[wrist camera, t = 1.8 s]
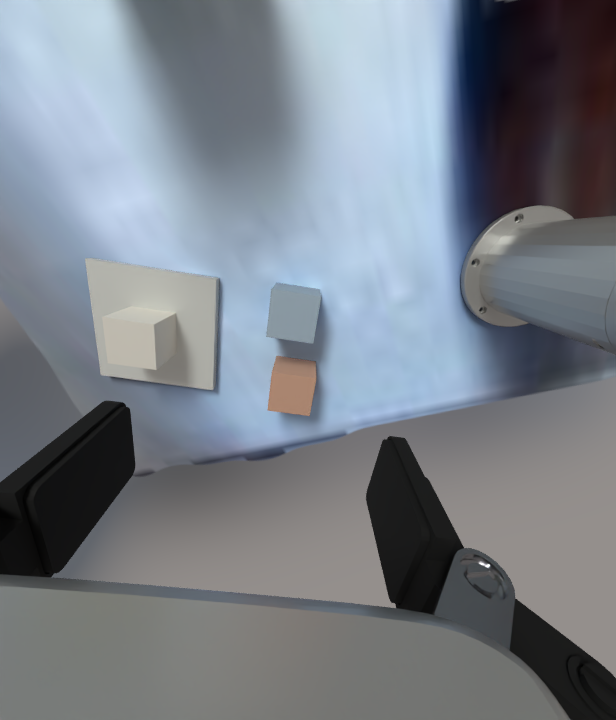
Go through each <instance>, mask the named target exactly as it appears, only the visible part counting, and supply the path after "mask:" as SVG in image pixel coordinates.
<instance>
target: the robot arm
mask: <svg viewBox="0 0 616 720" xmlns="http://www.w3.org/2000/svg"><path fill="white" fill-rule="evenodd" d="M472 261H473V264H471V263H472ZM461 290H462V296H463V298H464V301H465V303H466V305H467V306H468V308H469V309H470V311H471V312H472V313H473V314H474V315H476V316H477V317H478V318H479V319H481V320H483V321H485V322H487V323H490V324H493V325H496V326H502V327H516V326H520V325H525V324H528V323H530V324H533V325H536V326H539V327H541V328H544V329H547V330H549V331H552V332H555V333H558V334H560V335H563V336H566V337H568V338H571V339H574V340H576V341H579V342H582V343H585V344H587V345H590V346H593V347H595V348H598V349H601V350H604V351H606V352H609V353H612V354H614V355H616V216H607V217H595V218H583V219H574V218H573V217H572V216H571V215H569V214H568V213H566V212H565V211H563V210H561V209H558V208H555V207H552V206H531V207H525V208H521V209H517V210H514V211H512V212H510V213H507V214H505V215H503V216H502V217H500V218H499V219H497V220H496V221H494V222H492V223H491V224H490V225H489V226H488V227H487V228H486V229H485V230H484V231H483V232H482V233H481V234H480V235H479V236H478V238H477V239H476V240H475V241H474V243H473V245H472V246H471V248H470V250H469V251H468V253H467V256H466V259H465V261H464V264H463V268H462V273H461ZM479 309H480V310H479ZM134 470H135V456H134V446H133V435H132V425H131V414H130V409H129V408H128V407H126V405H125V404H124V403H123V402H115V401H104V402H102V403H101V404H99V405H98V406H97V407H96V408H94V409H93V410H92V411H91V412H89V413H88V414H87V415H85V416H84V417H83V418H82V419H80V420H79V421H78V422H77V423H75V424H74V425H73V426H71V427H70V428H69V429H68V430H66V431H65V432H64V433H63V434H61V435H60V436H59V437H57V438H56V439H55V440H54V441H52V442H51V443H50V444H48V445H47V446H46V447H45V448H43V449H42V450H41V451H40V452H38V453H37V454H36V455H34V456H33V457H32V458H31V459H29V460H28V461H27V462H26V463H25V464H23V465H22V466H20V468H18V469H17V470H15V471H14V472H13V473H12V474H10V475H9V476H8V477H6V478H5V479H4V480H3V481H1V482H0V720H616V678H615V677H614V676H613V675H612V674H611V673H610V672H609V671H608V670H607V669H606V668H605V667H604V666H602V665H601V664H600V663H599V662H598V661H596V660H595V659H594V658H593V657H591V656H590V655H588V654H587V653H586V652H585V651H583V650H582V649H581V648H579V647H578V646H577V645H575V644H574V643H573V642H572V641H570V640H569V639H568V638H566V637H565V636H564V635H563V634H561V633H560V632H559V631H557V630H556V629H555V628H553V627H552V626H551V625H549V624H548V623H547V622H546V621H544V620H543V619H542V618H540V617H539V616H538V615H536V614H535V613H534V612H532V611H531V610H530V609H528V608H527V607H526V606H525V605H523V604H522V603H521V602H519V601H518V600H517V599H515V590H514V587H513V585H512V582H511V580H510V578H509V577H508V575H507V574H506V572H505V571H504V570H503V569H502V568H501V567H500V566H499V565H498V563H497V562H495V561H494V560H493V559H491V558H490V557H489V556H487V555H486V554H484V553H482V552H480V551H478V550H475V549H471V548H464V547H463V545H462V543H461V541H460V539H459V537H458V535H457V533H456V532H455V530H454V528H453V526H452V524H451V522H450V520H449V518H448V516H447V514H446V512H445V510H444V508H443V507H442V505H441V502H440V501H439V499H438V497H437V495H436V493H435V491H434V489H433V487H432V485H431V483H430V481H429V480H428V479H427V478H426V477H425V476H424V474H423V472H422V470H421V468H420V466H419V464H418V462H417V461H416V458H415V456H414V454H413V452H412V451H411V448H410V446H409V445H408V443H407V441H406V439H405V438H401V437H393V436H390V437H388V439H387V440H383V441H382V444H381V448H380V451H379V454H378V457H377V461H376V464H375V467H374V470H373V473H372V476H371V480H370V483H369V486H368V489H367V494H366V501H367V506H368V510H369V514H370V518H371V523H372V527H373V531H374V535H375V540H376V544H377V548H378V553H379V557H380V561H381V566H382V570H383V574H384V578H385V582H386V587H387V591H388V595H389V599H390V601H391V602H392V603H395V604H396V608H388V607H379V606H370V605H361V604H353V603H343V602H332V601H322V600H311V599H300V598H290V597H289V598H288V597H279V596H268V595H257V594H245V593H234V592H223V591H211V590H199V589H187V588H175V587H165V586H153V585H140V584H128V583H115V582H103V581H91V580H79V579H66V578H65V579H64V578H51V577H52V575H53V574H54V573H58V572H60V571H61V570H62V569H63V568H64V566H65V565H66V564H67V562H68V561H69V560H70V558H71V557H72V556H73V554H74V553H75V552H76V550H77V549H78V548H79V546H80V545H81V544H82V542H83V541H84V539H85V538H86V537H87V536H88V534H89V533H90V532H91V530H92V529H93V528H94V526H95V525H96V523H97V522H98V521H99V519H100V518H101V517H102V515H103V514H104V513H105V511H106V510H107V509H108V507H109V506H110V505H111V503H112V502H113V501H114V499H115V498H116V497H117V495H118V494H119V493H120V491H121V490H122V489H123V487H124V486H125V484H126V483H127V482H128V481H129V479H130V478H131V477H132V475H133V473H134Z"/></svg>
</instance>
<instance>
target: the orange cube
mask: <svg viewBox="0 0 616 720" xmlns="http://www.w3.org/2000/svg"><path fill="white" fill-rule="evenodd" d="M315 384H316V361H309V360H302V359H295V358H288V357H281V356H276V360H275V363H274V367H273V370H272V376H271V385H270V394H269V402H268V411H276V412H284V413H291V414H299V415H306V416H310V411H311V406H312V400H313V395H314V389H315Z"/></svg>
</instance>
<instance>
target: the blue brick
mask: <svg viewBox="0 0 616 720" xmlns="http://www.w3.org/2000/svg"><path fill="white" fill-rule="evenodd" d="M320 301H321V293H320V289H315V288H308V287H302V286H296V285H289V284H283V283H276V284H275V285H274V286H273V288H272V289H271V298H270V307H269V317H268V327H267V336H266V337H271V338H278V339H285V340H292V341H298V342H305V343H312V344H313V342H314V337H315V331H316V325H317V319H318V313H319V307H320Z"/></svg>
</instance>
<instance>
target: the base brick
mask: <svg viewBox="0 0 616 720" xmlns="http://www.w3.org/2000/svg"><path fill="white" fill-rule="evenodd" d="M102 321H103V329H104V337H105V345H106V353H107V361H108V363H110V364H117V365H124V366H131V367H138V368H146V369H153V370H157V369H158V368H159V367H161V366H162V365H163V364H164V363H165V362H166V361H168V360H169V359H170V358H171V357H172V356H174V355H175V354H176V353H177V345H176V313H173V312H166V311H160V310H153V309H146V308H140V307H133V306H131V307H128V308H125V309H122V310H120V311H117V312H114V313H111V314H109V315H106V316H103V317H102Z"/></svg>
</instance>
